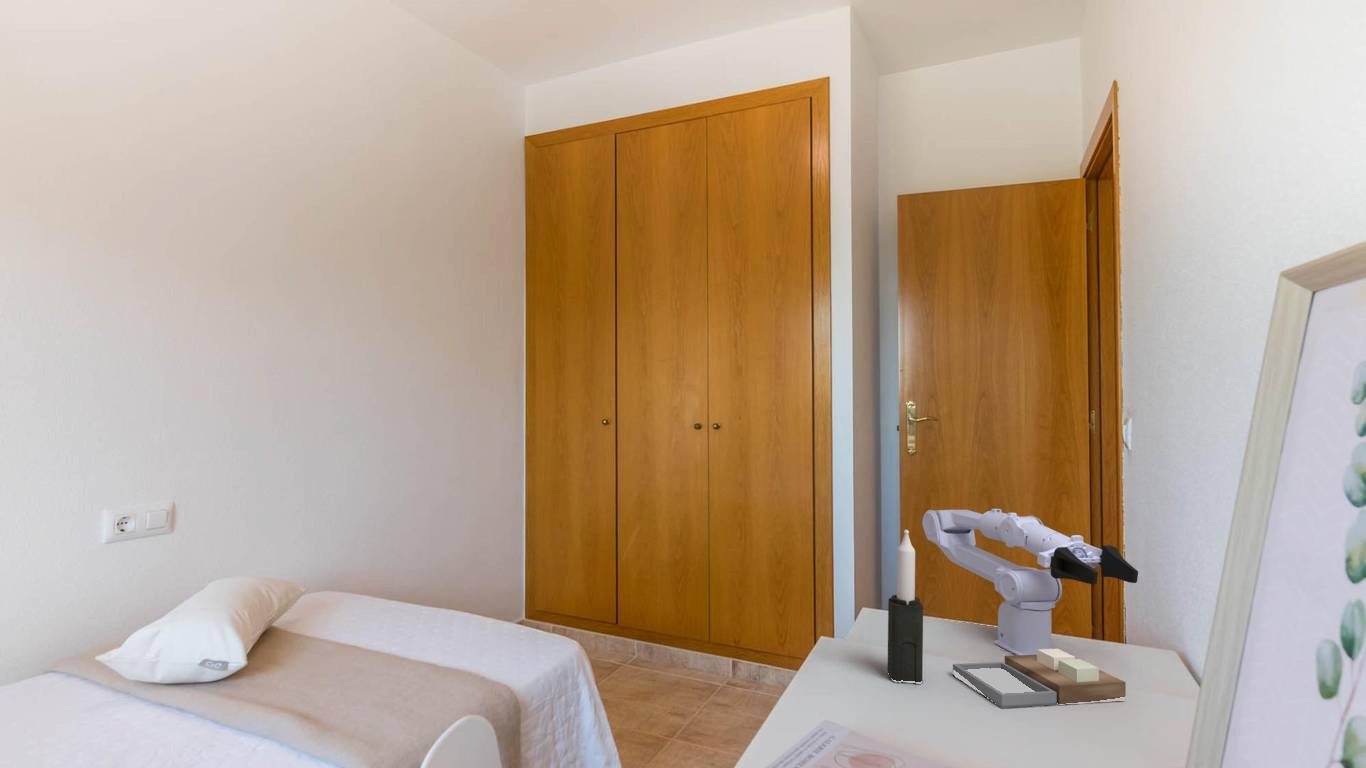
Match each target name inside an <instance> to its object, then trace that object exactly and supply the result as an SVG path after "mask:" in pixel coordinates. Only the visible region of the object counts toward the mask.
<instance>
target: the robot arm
mask: <svg viewBox="0 0 1366 768" xmlns="http://www.w3.org/2000/svg"><path fill="white" fill-rule="evenodd" d="M922 529H923V531H924V534H925V537H926V539H927V540H928V541H929V542H931V543H933V544H936V546H937V547H938V548H939V549H940V550H941V552H942V553H943V554H944V555H945V557H947V559H948V560H949V561H950V562H952V563H953V564H956V565H957V566H960V567H961V568H964V569H965V570H967V571H970V572H971V573H973V574H976V575H977V576H980V577H981V578H983V579H985V580H987V581H989V582H990V583H992V584H993V585H994V590H995V592H997V593H998V594H1000V595H1001V597H1002V598H1003V599H1004V601H1003V602H1001V603H1000V605H999V608H998V611H997V612H998V613H997V640H994V641H993V644H995V645H997V646H999V647H1001V648H1003V649H1004V650H1006V651H1008V652H1011V653H1012V654H1013V655H1037V649H1052V609H1053V608H1056V603H1058V602H1059V601H1060V600H1061V597H1062V595H1063V585H1062V582H1061V579H1066V580H1072V581H1076V582H1081V583H1084V584H1088V585H1097V584H1098V576H1099V572H1098V571H1097V570H1096V569H1095V568H1097V567H1099V566H1100V568H1101V575H1100V576H1101V578H1113V579H1117V580H1120V581H1123V582H1126V583H1132V584H1137V583H1138V577H1139V576H1138V575H1139V571H1138V570H1137V569H1136V568H1135V566H1132V565H1131V564H1130V563H1128V561H1127V560H1126V559H1124V558H1123V556H1122V555H1121V553H1120V551H1119V549H1118V548H1117V547H1116V546H1113V545H1110V544H1109V545H1108V544H1107V545H1105V544H1104V545H1102V547H1101V548H1099V547H1095V546H1093V545H1091V544H1088V543H1086V542H1084V537H1083V536H1082V535H1079V534H1078V535H1077V534H1075V535H1073V534H1072V535H1071V536H1070V537H1069V536H1067V535H1065V534H1063V533H1061V532H1059V531H1056V530H1055V529H1051V528H1049V527H1048V526H1045V525H1044V523H1043V522H1042V520H1041V519H1040V518H1038V517H1035V516H1034V515H1028V516H1019V515H1018V514H1017V513H1016V512H1008V513H1005V512H1002V509H1000V508H991V510H988V511H985V512H984V513H983V514H982V513H980V512H976V511H974V510H973V511H972V510H969V509H943V510H942V509H938V510H933V509H928V510H926V511H925V513H924V514H923V517H922ZM975 530H980V532H981V534H982V535H983V537H985V538H987V539H992V540H996V541H999V542H1003V543H1005V546H1006V547H1008V548H1015V547H1019V548H1021V549H1023V550H1026V551H1027V552H1029V553H1030V554H1033V555H1034V556H1036V557H1037V561H1036V563H1037V564H1038V565H1039V566H1041V567H1043V568H1044V569H1038V568H1036V567H1030V566H1024V565H1017V564H1016V563H1013V562H1011V561H1010V560H1007V559H1004V558H1001V557H1000V556H997V555H995V554H993V553H991V552H988V551H986V550H984V549H981V548H980V547H977V546H976V544H977V543H976V536H975ZM1045 568H1046V569H1045ZM1048 568H1050V569H1048Z"/></svg>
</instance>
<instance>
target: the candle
mask: <svg viewBox="0 0 1366 768" xmlns="http://www.w3.org/2000/svg"><path fill="white" fill-rule="evenodd" d="M909 533H910V532H909V530H908V529H904V531H903V534H904V535H903V537H902V540H901V543H900V545H898V547H897V549H896V553H897V554H896V555H897V556H896V594H893V595H891V597H890V598H888V599H887V600H888V601H887V602H888V603H887V604H888V605H887V606H888V607H887V608H888V610H887V612H888V613H887V618H888V619H887V671H888V673H889V675H890V677H891V678H892V679H893V680H896V681H901V680H903V681H915V682H921V681H922V682H923V671H924V670H923V665H924V664H923V659H924V655H923V653H924V652H923V650H924V649H923V647H924V646H923V644H924V635H923V634H924V605H923V604H922V603H921V599H920V598H919V597H917V596H916V595H915V594H916V591H915V590H916V550H915V548H914V547H913V545H912V543H911V539H910V535H909ZM888 673H887V674H888ZM890 677H889V678H890Z"/></svg>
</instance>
